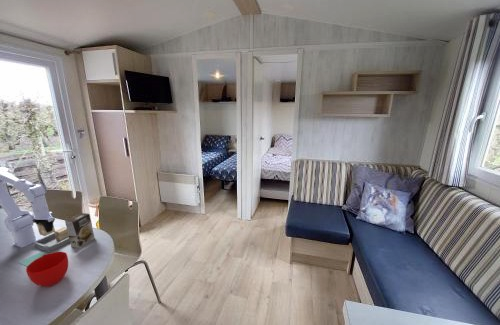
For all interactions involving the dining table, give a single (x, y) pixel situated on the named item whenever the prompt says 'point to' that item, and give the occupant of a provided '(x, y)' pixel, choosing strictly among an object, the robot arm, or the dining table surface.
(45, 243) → the parts bin
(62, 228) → the plain block
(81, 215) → the coffee box
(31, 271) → the red mixing bowl
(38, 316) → the dining table surface
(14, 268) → the dining table surface
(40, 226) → the labelled block
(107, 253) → the dining table surface
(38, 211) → the robot arm
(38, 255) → the teal mat
